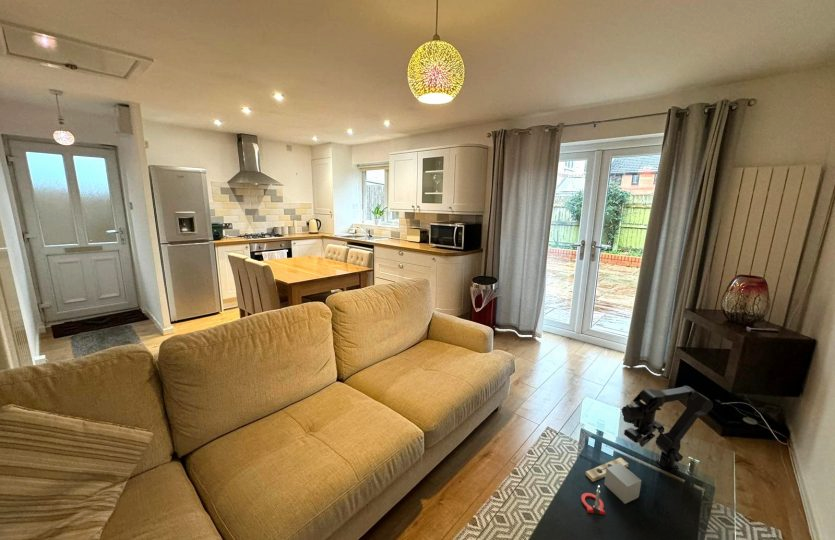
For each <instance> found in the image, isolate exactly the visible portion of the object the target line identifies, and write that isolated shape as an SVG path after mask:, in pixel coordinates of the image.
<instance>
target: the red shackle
mask: <svg viewBox="0 0 835 540" xmlns="http://www.w3.org/2000/svg"><path fill="white" fill-rule="evenodd" d="M595 492H596V494H593V493H591V492H584V493H583V494H581V497H580V501H581V503H582V505H583V506H584V507H585V508H586V512H587V513H590V514H594V515H595V514H596V515H606V511H605V510H604V505H605V504H604V502H603V500H602V499H601V498H600V494H601V486H600V485H597V489H596V491H595ZM586 498H592V499H594V505H592V506H591V505H590V504H589V503H588V502H587V501H586Z"/></svg>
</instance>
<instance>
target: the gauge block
mask: <svg viewBox="0 0 835 540" xmlns="http://www.w3.org/2000/svg"><path fill="white" fill-rule="evenodd" d="M603 485H604V486H605V487H606V488H607V489H608V490H609V491H611V492H612V493H613V494H614V495H615V496H616V497H617V498H618V499H619V500H620V501H621V502H622V503H623V504H624V505H626V504H627V503H630V502H632V501H635V500H636V499H638V498H639V496H640V491H641V486H642V479H641V478H639V477H638V476H637V475H636V474H634V473H633V472H632V471H631V470H629V469H628V467H625V466H623V465H622V464H621V463H618V464H615V465H613V466H610V467H608V468H607V469H606V476H605V477H604V484H603Z"/></svg>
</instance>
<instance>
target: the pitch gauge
mask: <svg viewBox="0 0 835 540" xmlns="http://www.w3.org/2000/svg"><path fill="white" fill-rule="evenodd" d="M618 463H621V464H622V465H623V466H625V467H626V468H628V467H629V462H627V461H626V460H624V459H623V458H622V457H618V458H616V459H613V460H611V461H608V462H605V463H603V464H601V465H598V466H596V467H594V468H592V469H589V470H586V471H585V475H586V476H587V478H588V479H590V481H591V482H596V481H597V480H601V479H602V478H605V476H606V469H607V468H608V467H610V466H613V465H615V464H618Z"/></svg>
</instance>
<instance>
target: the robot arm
mask: <svg viewBox="0 0 835 540" xmlns="http://www.w3.org/2000/svg"><path fill="white" fill-rule="evenodd" d="M681 400H686V401H685V406H686V408H685V409H684V411H683V412H682V413H681V414H680V416H679V418H678V419H677V420H675V421H676V422H674V424H673V425H672V427H671V428H670V429H669V431H667V432H665V427H664V425H663V424H661V423H659V422H658V421H656V420H655V418H656V413H657V411H661V410H662V408H661V407H663V405H664V404H665V403H670V402H675V401H681ZM632 402H633V403H634V404H630V403H629V404H628V403H627V404H626V406H623V407H622V408H621V414H622V416H623V421H624V422H625V423H627V424H631V425H633V427H634V428H636V429H634V428H633V427H628V428H627V429H623V430H624V431H623V435H624V436H626V437H627V438H628V439H629V440H631V441H632V442H634V443H636V444H637V443H638V444H639V446H640V447H641V448H643V447H644V446H646V445H647V444H648V443H649V442H650V441H651V440H652V439H653V438H655V437H656V438H655V439H656V440H655V445H656V447H657V448H658V449H659V450H660V451H661V453H660V457H659V458H658V459H656V460H655V462H656V463H657V462H658V463H659V465H660V466H662V468H663V469H665V470H666V471H668V472H672V471H675V470H677V469H679V468H678V467H680V466H678V465H677V464H676V463H679V462H680V461H683V459H684V456H683V455H682V454H681V453H680V450H681V441H682V439H683V438H684V436H685V435H686V434H687V432H688V431H689V430H690V428H692V426H693V424H695V422H696V421H697V419H699V417H700V416H704V415H707V414H709V412H710V411H712V409H713V408H714V402H713V400H710V399H709V398H708V397H706V396H705V395H703V394H701V393H700V392H699V391H697V390H695V389H694V388H693V387H691V386H689V385H687V384H686V385H682V386H680V387H676V388H675V387H674V388H668V389H662V390H657V389H652V388H647V389H642V390H641V391H640V392H639V393H638V394H637V395H636V396H635V398H634V399H633V400H632ZM655 431H657V432H658V433H659V435H658V436H656V435H655V434H654V432H655ZM659 459H660V461H659ZM658 463H657V464H658ZM676 468H677V469H676ZM674 469H675V470H674Z"/></svg>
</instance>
